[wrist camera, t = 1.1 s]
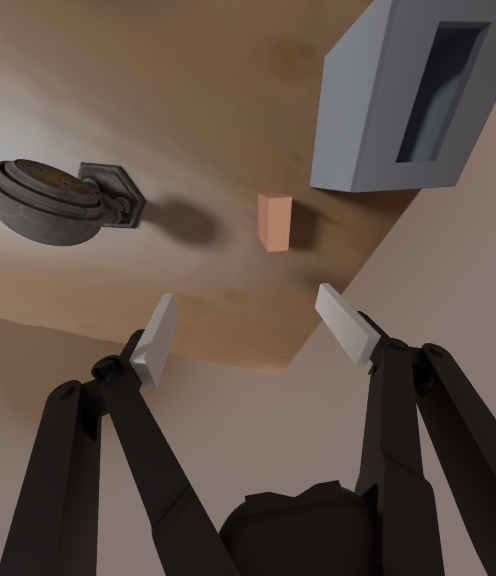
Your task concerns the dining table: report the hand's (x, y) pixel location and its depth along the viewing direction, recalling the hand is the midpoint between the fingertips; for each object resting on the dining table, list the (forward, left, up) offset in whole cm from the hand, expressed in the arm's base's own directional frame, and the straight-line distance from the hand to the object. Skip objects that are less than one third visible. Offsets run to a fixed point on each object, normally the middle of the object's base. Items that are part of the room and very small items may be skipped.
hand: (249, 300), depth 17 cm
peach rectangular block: (-4, +6, -19) cm, 21 cm away
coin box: (-15, +19, -19) cm, 31 cm away
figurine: (-8, -18, -20) cm, 28 cm away
